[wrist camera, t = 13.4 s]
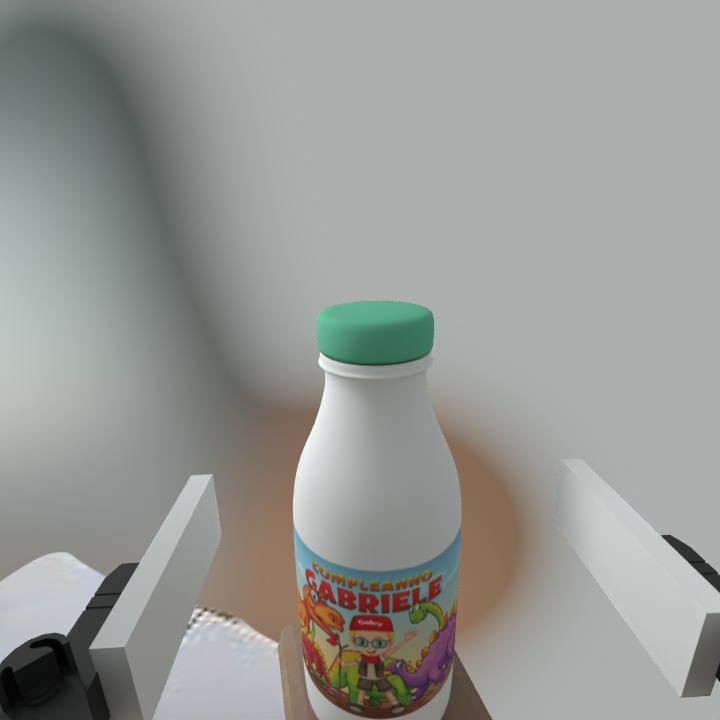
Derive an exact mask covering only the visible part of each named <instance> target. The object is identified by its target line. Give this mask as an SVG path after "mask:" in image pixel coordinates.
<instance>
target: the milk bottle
mask: <svg viewBox="0 0 720 720" xmlns="http://www.w3.org/2000/svg"><path fill="white" fill-rule="evenodd" d="M433 338H434V318H433V314H432V312H431V311H430V310H429V309H427V308H425V307H423V306H420V305H416V304H411V303H405V302H394V301H361V302H350V303H343V304H339V305H334V306H331V307H328V308H326V309H324V310H322V311H321V312H320V313H319V315H318V319H317V339H318V347H319V350H320V358H319V365H320V366H321V367H322V368H323V369H324V370H325V375H326V378H325V389H324V394H323V398H322V403H321V406H320V410H319V413H318V416H317V419H316V421H315V424H314V427H313V429H312V431H311V434H310V436H309V438H308V440H307V443H306V445H305V448H304V450H303V453H302V455H301V459H300V462H299V466H298V469H297V474H296V479H295V486H294V500H293V517H294V518H293V519H294V544H295V556H296V571H297V585H298V598H299V610H300V623H301V635H302V647H303V659H304V670H305V679H306V687H307V692H308V697H309V700H310V703H311V706H312V708H313V710H314V712H315V714H316V716H317V718H318V719H319V720H441V718H442V716H443V714H444V712H445V710H446V707H447V704H448V701H449V696H450V691H451V682H452V672H453V658H454V644H455V628H456V614H457V598H458V581H459V564H460V547H461V496H460V485H459V480H458V475H457V470H456V467H455V464H454V460H453V457H452V454H451V452H450V450H449V447H448V445H447V442H446V440H445V438H444V436H443V434H442V432H441V429H440V427H439V425H438V423H437V420H436V418H435V415H434V412H433V409H432V406H431V402H430V398H429V394H428V390H427V384H426V370H427V369H428V368H429V367H430V366H431V365H432V362H433V359H432V357H431V349H432V346H433Z"/></svg>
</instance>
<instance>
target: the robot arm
mask: <svg viewBox="0 0 720 720" xmlns="http://www.w3.org/2000/svg"><path fill="white" fill-rule="evenodd" d="M553 521H554V523H555V524H556V525H557V527H558V528H559V529H560V531H561V532H562V534H563V535H564V536H565V538H566V539H567V540H568V542H569V543H570V545H571V546H572V548H573V549H574V550H575V552H576V553H577V554H578V556H579V557H580V559H581V560H582V561H583V563H584V564H585V565H586V567H587V568H588V570H589V571H590V572H591V574H592V575H593V577H594V578H595V579H596V581H597V582H598V584H599V585H600V586H601V588H602V589H603V591H604V592H605V593H606V595H607V596H608V597H609V599H610V600H611V602H612V603H613V604H614V606H615V607H616V609H617V610H618V611H619V613H620V614H621V615H622V617H623V618H624V619H625V621H626V622H627V624H628V625H629V626H630V628H631V629H632V631H633V632H634V633H635V635H636V636H637V638H638V639H639V640H640V642H641V643H642V645H643V646H644V647H645V649H646V650H647V652H648V653H649V654H650V656H651V657H652V658H653V660H654V661H655V662H656V664H657V665H658V667H659V668H660V669H661V671H662V672H663V674H664V675H665V677H666V678H667V679H668V681H669V682H670V683H671V685H672V686H673V688H674V689H675V690H676V692H677V693H678V695H679V696H680V697H681V698H682V697H698V696H710V695H711V692H712V689H713V686H714V683H715V680H716V678H717V679H718V680H719V681H720V575H718V573H717V571H716V570H714V569H713V568H712V567H711V566H710V565H709V564H708V563H705V560H704V559H703V558H702V557H700V556H699V555H698V554H697V553H696V552H695V551H694V550H693V549H692V548H691V547H689V546H688V545H686V544H684V543H683V542H681V541H679V540H678V539H676V538H674V537H673V536H671V535H659V534H658V533H657V532H656V531H655V530H654V529H653V528H652V527H651V526H650V525H649V524H648V523H647V522H646V521H645V520H644V519H643V518H642V517H641V516H640V515H638V513H636V511H635V510H633V509H632V508H631V507H630V506H629V505H628V504H627V503H626V502H625V501H624V500H623V499H622V498H621V497H620V496H619V495H618V494H617V493H616V492H615V491H614V490H613V489H612V488H611V487H610V486H609V485H608V484H607V483H606V482H605V481H604V480H603V479H601V478H600V477H599V476H598V475H597V474H596V473H595V472H594V471H593V470H592V469H591V468H590V467H589V466H588V465H587V464H586V463H585V462H584V461H583V460H582V459H563V460H561V466H560V473H559V479H558V486H557V493H556V500H555V507H554V514H553ZM221 536H222V535H221V528H220V522H219V515H218V508H217V501H216V495H215V488H214V481H213V475H192V476H191V477H190V479H189V481H188V482H187V484H186V486H185V487H184V489H183V491H182V492H181V494H180V496H179V497H178V499H177V501H176V503H175V504H174V506H173V508H172V509H171V511H170V513H169V515H168V516H167V518H166V520H165V521H164V523H163V524H162V526H161V528H160V530H159V531H158V533H157V535H156V536H155V538H154V540H153V541H152V543H151V545H150V546H149V548H148V550H147V552H146V553H145V555H144V557H143V558H142V560H141V562H140V563H126V564H121V565H120V566H119V567H118V568H116V569H115V570H114V571H113V572H112V573H111V574H109V575H108V576H107V577H106V578H105V579H104V581H103V582H102V584H101V585H100V587H99V588H98V590H97V591H96V593H95V596H94V597H92V599H91V600H90V602H89V603H88V605H87V606H86V610H85V611H83V612H82V614H81V615H80V617H79V618H78V620H77V621H76V623H75V625H74V626H73V628H72V629H71V631H70V632H69V634H68V635H67V637H66V636H65V635H62V634H58V633H50V634H43V635H41V636H38V637H36V638H33V639H31V640H28V641H27V642H25V643H24V644H22V645H21V646H19V647H18V648H16V649H15V650H14V651H12V652H11V653H10V654H9V655H8V656H7V657H6V658H5V659H4V660H3V661H2V662H1V664H0V720H109V719H110V720H152V718H153V715H154V713H155V710H156V707H157V705H158V702H159V700H160V697H161V694H162V692H163V689H164V686H165V684H166V681H167V678H168V676H169V673H170V671H171V668H172V665H173V663H174V660H175V657H176V655H177V652H178V650H179V647H180V644H181V642H182V639H183V636H184V634H185V631H186V628H187V626H188V623H189V621H190V618H191V615H192V613H193V610H194V607H195V605H196V602H197V600H198V597H199V594H200V592H201V589H202V586H203V584H204V581H205V578H206V576H207V573H208V571H209V568H210V565H211V563H212V560H213V557H214V555H215V552H216V549H217V547H218V544H219V542H220V539H221Z"/></svg>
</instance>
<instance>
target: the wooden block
mask: <svg viewBox="0 0 720 720" xmlns="http://www.w3.org/2000/svg"><path fill="white" fill-rule="evenodd" d="M278 652H279V661H280V671H281V680H282V689H283V699H284V708H285V717H286V720H319V719H318V718H317V716H316V714H315V712H314V710H313V708H312V706H311V703H310V700H309V697H308V692H307V687H306V679H305V670H304V659H303V647H302V635H301V623H300V621H299V622H295V623H292V624H290V625H289V626H287V627H286V628H285V629H283V632H282V635H281V638H280V642H279V645H278ZM441 720H492V718H491V717H490V715H489V713H488V711H487V709H486V707H485V705H484V703H483V702H482V700H481V698H480V696H479V694H478V693H477V691H476V689H475V687H474V685H473V683H472V681H471V679H470V677H469V676H468V674H467V672H466V670H465V669H464V667H463V665H462V663H461V662H460V659H459V657H458V655H457V653H456V652H455V650H454V658H453V672H452V682H451V691H450V696H449V701H448V704H447V707H446V710H445V712H444V714H443V716H442V718H441Z"/></svg>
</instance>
